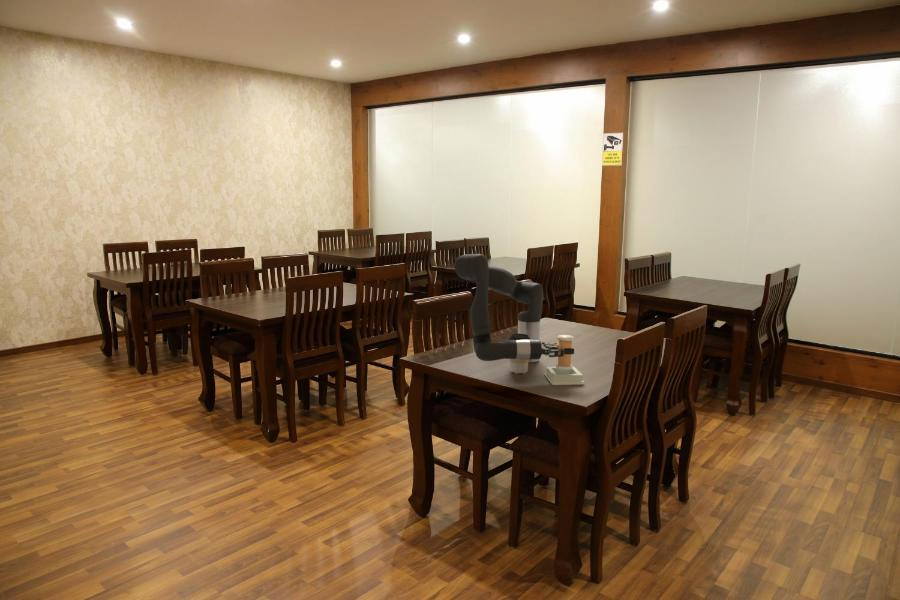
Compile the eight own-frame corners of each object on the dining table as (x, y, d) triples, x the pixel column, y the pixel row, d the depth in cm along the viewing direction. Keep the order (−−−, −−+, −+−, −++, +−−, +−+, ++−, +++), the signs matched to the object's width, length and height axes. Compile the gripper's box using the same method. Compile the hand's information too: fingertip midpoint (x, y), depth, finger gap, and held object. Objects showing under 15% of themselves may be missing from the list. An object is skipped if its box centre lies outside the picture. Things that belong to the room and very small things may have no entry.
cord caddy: (544, 375, 233) (544, 366, 233) (574, 374, 234) (575, 366, 234) (552, 384, 221) (552, 375, 221) (583, 384, 222) (584, 375, 222)
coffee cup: (528, 367, 243) (529, 331, 240) (532, 374, 234) (533, 337, 231) (506, 367, 243) (507, 331, 240) (509, 374, 234) (510, 337, 231)
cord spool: (554, 365, 229) (555, 334, 227) (569, 365, 230) (571, 334, 228) (558, 369, 224) (559, 338, 222) (573, 369, 224) (575, 338, 222)
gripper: (531, 344, 217) (577, 344, 218) (524, 335, 231) (567, 335, 232) (531, 364, 218) (576, 364, 219) (523, 354, 232) (566, 354, 233)
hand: (571, 349), depth 226 cm, fingers closed on cord spool, 4 cm apart
